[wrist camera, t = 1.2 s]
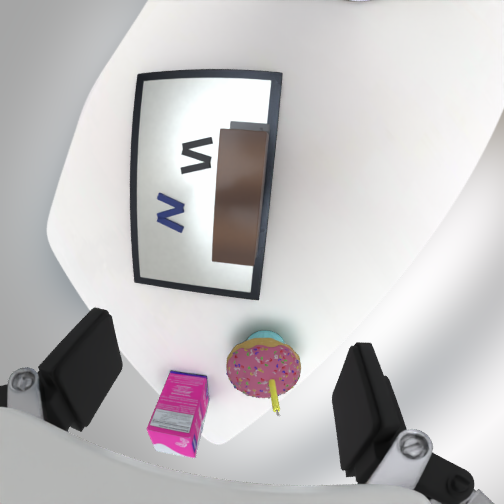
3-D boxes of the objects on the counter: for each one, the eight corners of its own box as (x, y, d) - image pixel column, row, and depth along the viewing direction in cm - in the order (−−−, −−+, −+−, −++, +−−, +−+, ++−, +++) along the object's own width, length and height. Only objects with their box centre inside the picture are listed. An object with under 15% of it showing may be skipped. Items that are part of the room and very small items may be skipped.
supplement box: (211, 400, 40) (195, 460, 29) (174, 394, 40) (153, 450, 29) (209, 375, 38) (190, 439, 27) (169, 369, 38) (143, 428, 27)
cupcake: (278, 306, 33) (277, 382, 21) (310, 354, 35) (318, 429, 24) (218, 334, 35) (196, 407, 24) (254, 377, 37) (245, 448, 26)
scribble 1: (157, 192, 28) (156, 192, 28) (185, 194, 28) (184, 194, 28) (157, 229, 30) (156, 230, 29) (184, 232, 29) (183, 233, 29)
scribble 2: (183, 136, 26) (182, 135, 26) (213, 136, 26) (212, 136, 25) (180, 173, 27) (179, 174, 27) (210, 175, 27) (209, 175, 27)
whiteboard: (140, 75, 25) (136, 73, 24) (282, 74, 24) (282, 72, 23) (137, 279, 33) (133, 283, 32) (259, 297, 32) (258, 301, 31)
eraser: (232, 121, 25) (220, 115, 20) (270, 124, 25) (268, 118, 20) (222, 250, 30) (211, 272, 25) (257, 254, 30) (252, 277, 24)
